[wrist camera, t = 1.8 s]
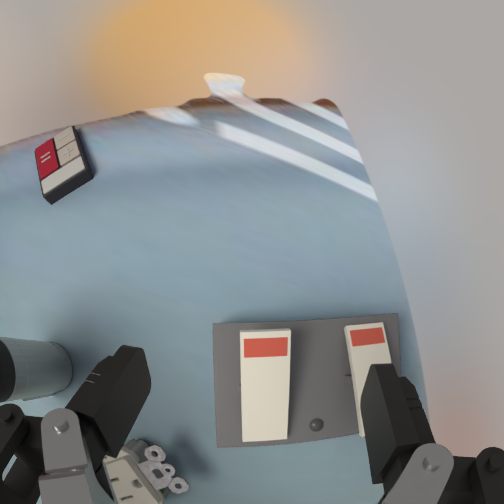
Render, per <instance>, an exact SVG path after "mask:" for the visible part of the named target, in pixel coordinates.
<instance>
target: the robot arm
mask: <svg viewBox="0 0 504 504" xmlns="http://www.w3.org/2000/svg"><path fill="white" fill-rule="evenodd" d="M71 378H72V364H71V361H70V358H69V356H68V354H67V352H66V351H65V350H64V349H63V348H62V347H61V346H60V345H58V344H56V343H53V342H42V341H33V340H23V339H14V338H6V337H0V402H6V401H12V400H18V399H22V400H23V401H27V400H32V399H37V398H42V397H47V396H51V395H53V393H54V392H59V391H62V390H64V389H65V388H66V387H67V386H68V385H69V383H70V381H71ZM150 389H151V377H150V373H149V369H148V365H147V361H146V357H145V353H144V350H143V349H142V348H138V347H132V346H127V345H122V346H121V347H120V348H119V349H118V351H117V352H116V353H115V355H114V356H108V357H106V358H105V359H103V360H102V361H100V362H99V363H98V364H97V365H96V367H95V368H94V369H93V371H92V372H91V374H90V375H89V376H88V377H87V379H86V382H85V381H84V383H83V384H82V385H81V387H80V388H79V389H78V391H77V392H76V394H75V395H74V396H73V398H72V399H71V400H70V402H69V403H68V405H67V406H66V407H65V408H59V409H55V410H52V411H50V412H49V413H47V414H46V415H45V416H44V417H34V416H25V415H24V413H23V411H22V410H21V408H20V407H19V406H17V405H15V404H4V405H2V406H0V504H36V503H37V501H38V498H39V496H40V494H41V500H42V504H119V503H118V501H117V498H116V495H115V493H114V490H113V487H112V484H111V481H110V478H109V475H108V471H107V468H106V465H105V463H104V461H103V459H104V457H105V455H107V456H110V457H113V458H117V456H118V454H119V452H120V450H121V448H122V446H123V444H124V442H125V440H126V438H127V436H128V434H129V432H130V430H131V428H132V426H133V424H134V422H135V420H136V418H137V417H138V415H139V413H140V411H141V409H142V407H143V405H144V403H145V401H146V399H147V397H148V395H149V393H150ZM360 410H361V416H362V421H363V427H364V433H365V438H366V444H367V451H368V457H369V463H370V470H371V477H372V484H379V483H383V486H384V494H383V496H382V497H381V499H380V500H379V502H378V503H377V504H504V451H503V450H502V449H500V448H496V447H490V448H486V449H484V450H483V451H482V452H481V453H480V454H479V455H478V456H477V457H476V458H473V457H458V456H452V454H451V452H450V451H449V450H448V449H447V448H446V447H444V446H442V445H439V444H436V443H435V440H434V437H433V435H432V432H431V429H430V426H429V423H428V420H427V418H426V415H425V412H424V409H422V404H421V402H420V400H419V396H418V394H417V391H416V389H415V386H414V385H413V384H412V383H411V382H410V381H409V380H408V379H407V378H406V377H398V375H397V372H396V369H395V367H394V365H393V364H392V363H385V364H371V366H370V368H369V371H368V375H367V378H366V381H365V385H364V388H363V391H362V394H361V400H360ZM14 454H15V456H16V457H17V459H16V461H15V462H14V464H13V466H12V467H11V469H10V471H9V472H8V474H7V476H6V478H5V479H4V481H3V480H2V474H3V471H4V469H5V468H6V466H7V464H8V463H9V461H10V459H11V458H12V456H13V455H14Z"/></svg>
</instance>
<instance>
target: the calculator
mask: <svg viewBox="0 0 504 504" xmlns="http://www.w3.org/2000/svg"><path fill="white" fill-rule="evenodd" d="M35 158H36V163H37V169H38V175H39V180H40V185H41V189H42V194H43V197H44V198H45V199H46V200H47V201H48V202H49V203H50V204H51V205H52V204H53V203H55V202H57V201H58V200H60V199H61V198H63V197H64V196H66V195H67V194H69V193H71V192H72V191H74V190H75V189H77V188H79V187H80V186H82V185H83V184H85V183H87V182H88V181H90V180H92V179H93V174H92V171H91V169H90V166H89V163H88V161H87V158H86V155H85V152H84V149H83V146H82V143H81V140H80V137H79V134H78V132H77V130H76V129H75V127H74V126H72V127H69V128H67V129H66V130H64V131H62V132H61V133H59V134H58V135H56V136H55V137H54V138H52V139H50V140H48V141H47V142H45V143H44V144H42V145H41V146H39V147H38V148H36V149H35Z"/></svg>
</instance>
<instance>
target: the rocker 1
mask: <svg viewBox="0 0 504 504" xmlns="http://www.w3.org/2000/svg"><path fill="white" fill-rule="evenodd" d="M290 349H291V330H290V329H289V328H286V329H261V330H240V367H241V412H242V441H243V442H252V441H269V440H281V439H287V428H288V407H289V382H290Z"/></svg>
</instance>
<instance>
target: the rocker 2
mask: <svg viewBox="0 0 504 504" xmlns="http://www.w3.org/2000/svg"><path fill="white" fill-rule="evenodd" d="M344 332H345V337H346V343H347V349H348V355H349V361H350V368H351V374H352V381H353V388H354V395H355V402H356V410H357V418H358V426H359V435H360V437H364V436H365V433H364V427H363V421H362V416H361V410H360V400H361V394H362V391H363V388H364V385H365V381H366V378H367V375H368V371H369V368H370V366H371V364H385V363H391V358H390V353H389V348H388V343H387V338H386V334H385V329H384V325H383V322H380V323H370V324H360V325H349V326H345V328H344Z"/></svg>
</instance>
